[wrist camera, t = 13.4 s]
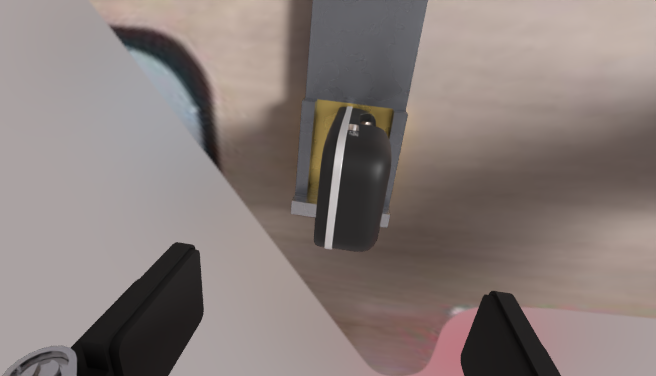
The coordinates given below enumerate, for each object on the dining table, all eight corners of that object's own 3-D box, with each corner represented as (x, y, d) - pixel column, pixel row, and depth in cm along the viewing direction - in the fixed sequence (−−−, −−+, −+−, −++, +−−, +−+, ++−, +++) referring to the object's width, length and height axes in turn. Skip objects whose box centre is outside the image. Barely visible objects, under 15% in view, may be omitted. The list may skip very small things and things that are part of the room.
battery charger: (373, 188, 29) (377, 270, 18) (330, 182, 29) (310, 260, 19) (387, 107, 26) (401, 151, 16) (339, 102, 26) (321, 141, 16)
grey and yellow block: (434, -52, 23) (450, -75, 19) (384, 201, 31) (387, 227, 27) (322, -63, 24) (311, -88, 19) (301, 189, 32) (290, 213, 27)
